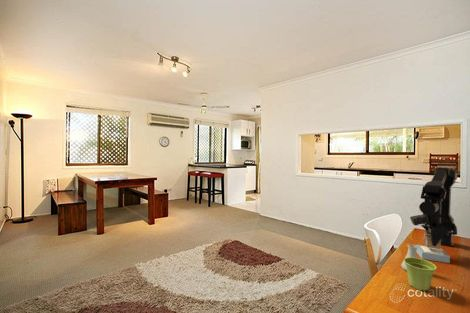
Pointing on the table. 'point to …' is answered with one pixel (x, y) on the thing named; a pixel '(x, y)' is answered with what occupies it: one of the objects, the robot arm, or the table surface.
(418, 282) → the plant pot
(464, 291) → the table surface
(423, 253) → the plinth
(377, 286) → the table surface
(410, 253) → the flask
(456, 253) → the table surface
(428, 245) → the walnut block
